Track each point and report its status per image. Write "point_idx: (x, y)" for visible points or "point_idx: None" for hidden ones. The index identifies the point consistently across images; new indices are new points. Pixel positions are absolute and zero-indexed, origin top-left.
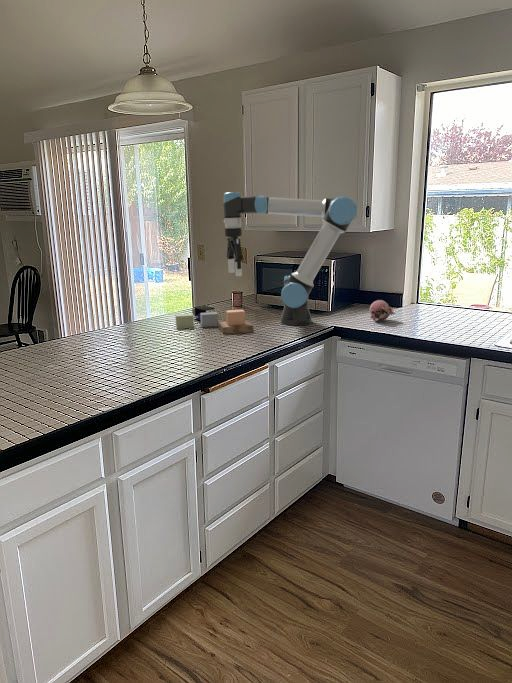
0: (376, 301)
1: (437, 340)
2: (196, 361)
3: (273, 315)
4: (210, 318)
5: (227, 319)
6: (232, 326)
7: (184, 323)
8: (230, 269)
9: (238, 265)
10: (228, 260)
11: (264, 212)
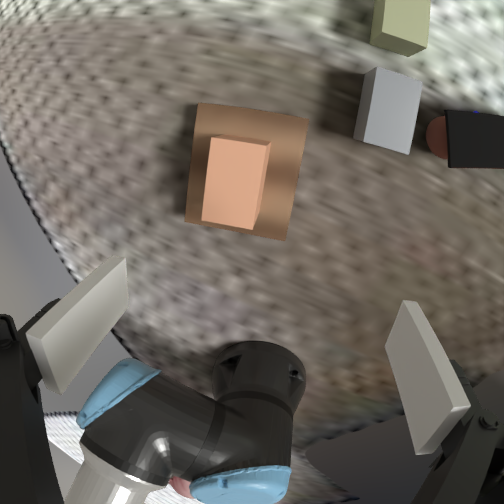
0: (186, 492)
1: (60, 421)
2: (10, 16)
3: (384, 366)
4: (365, 106)
5: (234, 137)
6: (198, 143)
7: (377, 8)
8: (407, 335)
9: (34, 321)
10: (449, 395)
11: None
